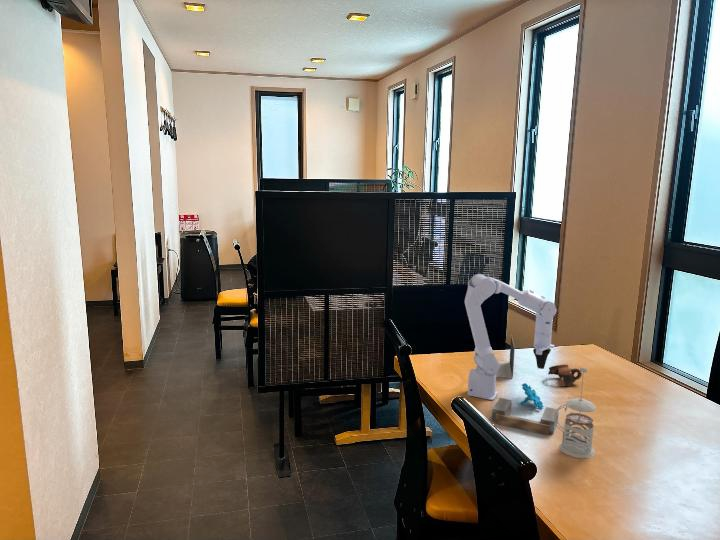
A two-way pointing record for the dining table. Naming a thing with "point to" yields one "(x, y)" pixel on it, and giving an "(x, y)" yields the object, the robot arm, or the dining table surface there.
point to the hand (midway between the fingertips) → (540, 368)
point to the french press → (576, 443)
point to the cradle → (503, 418)
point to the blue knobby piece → (531, 396)
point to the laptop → (507, 364)
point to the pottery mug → (565, 374)
